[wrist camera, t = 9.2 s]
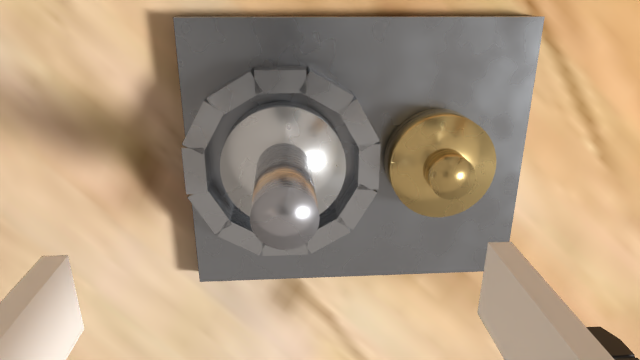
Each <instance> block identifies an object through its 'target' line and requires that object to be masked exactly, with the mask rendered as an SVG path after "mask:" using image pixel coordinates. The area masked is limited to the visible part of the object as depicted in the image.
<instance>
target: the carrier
mask: <svg viewBox="0 0 640 360" xmlns="http://www.w3.org/2000/svg"><path fill="white" fill-rule="evenodd" d="M173 20H174V30H175V40H176V50H177V60H178V70H179V80H180V90H181V100H182V109H183V119H184V129H185V139H184V141H183V143H182V145H183V146H182V148H181V150H182V160H183V169H184V179H185V188H186V194H189V195H188V199H189V200H190V202H191V203H192V209H193V218H194V228H195V238H196V248H197V258H198V268H199V278H200V282H204V281H232V280H259V279H286V278H313V277H341V276H368V275H395V274H423V273H450V272H477V271H484V266H485V260H486V253H487V246H488V243H489V242H509V240H510V233H511V227H512V221H513V214H514V208H515V202H516V195H517V189H518V182H519V176H520V170H521V163H522V157H523V151H524V144H525V138H526V131H527V125H528V119H529V112H530V106H531V100H532V93H533V87H534V81H535V74H536V68H537V61H538V55H539V49H540V42H541V36H542V30H543V23H544V17H541V16H178V17H173ZM278 101H288V102H295V103H299V104H303V105H306V106H308V107H310V108H312V109H314V110H315V111H317V112H319V113H320V114H321V115H322V116H324V117H325V118H326V119H327V120H328V121H329V123H330V124H331V125H332V126H333V128H334V129H335V131H336V133H337V135H338V137H339V139H340V142H341V144H342V147H343V150H344V153H345V159H346V173H345V179H344V183H343V185H342V188H341V190H340V192H339V194H338V196H337V198H336V199H335V200H334V202H333V203H332V204H331V205H330V206H329V207H328V208H327V209H326V210H325V211H324V212H322V213H321V214H320V215H319V217H320V220H319V226H318V229H317V231H316V233H315V235H314V236H313V237H312V238H311V239H310V240H309V241H308V242H307V243H306V244H304V245H302V246H300V247H298V248H295V249H290V250H279V249H274V248H271V247H269V246H267V245H265V244H263V243H262V242H261V241H260V240H259V239H258V238H257V237H256V236H255V234H254V233H253V230H252V228H251V224H250V216H248V215H246V214H245V213H244V212H242V211H241V210H240V209H239V208H238V207H237V206H236V205H235V204H234V203H233V202H232V200H231V199H230V198H229V196H228V194H227V193H226V190H225V188H224V186H223V183H222V179H221V173H220V160H221V154H222V150H223V147H224V144H225V141H226V139H227V136H228V134H229V132H230V130H231V129H232V127H233V126H234V125H235V123H236V122H237V121H238V120H239V119H240V118H241V117H242V116H243V115H244V114H246V113H247V112H249V111H250V110H252V109H254V108H256V107H258V106H260V105H263V104H266V103H271V102H278Z"/></svg>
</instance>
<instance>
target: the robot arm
mask: <svg viewBox="0 0 640 360" xmlns="http://www.w3.org/2000/svg"><path fill="white" fill-rule="evenodd" d="M478 315H479V317H480V319H481V320H482V322H483V324H484V325H485V327H486V329H487V331H488V332H489V334H490V336H491V337H492V339H493V341H494V343H495V344H496V346H497V348H498V349H499V351H500V353H501V355H502V356H503V358H504V360H639V359H638V358H635V356H634V354H633V353H632V352H631V351H630V349H629V348H628V347H627V346H626V345H625V344H624V343H623V342H622V341H621V340H620V339H618V338H617V337H615V336H614V335H612V334H611V333H609V332H608V331H606V330H605V329H603V328H601V327H585V325H584V324H583V323H582V322H581V321H580V320H579V319H578V317H577V316H576V315H575V314H574V313H573V312H572V311H571V309H570V308H569V307H568V306H567V305H566V304H565V303H564V301H563V300H562V299H561V298H560V297H559V296H558V295H557V293H556V292H555V291H554V290H553V289H552V288H551V287H550V285H549V284H548V283H547V282H546V281H545V280H544V279H543V277H542V276H541V275H540V274H539V273H538V272H537V271H536V270H535V268H534V267H533V266H532V265H531V264H530V263H529V262H528V260H527V259H526V258H525V257H524V256H523V255H522V254H521V252H520V251H519V250H518V249H517V248H516V247H515V246H514V244H513V243H512V242H489V243H488V246H487V253H486V260H485V266H484V273H483V279H482V286H481V293H480V299H479V306H478ZM83 330H84V325H83V321H82V316H81V312H80V307H79V303H78V298H77V294H76V289H75V284H74V280H73V275H72V271H71V266H70V262H69V257H68V255H60V256H42V257H41V258H40V259H39V260H38V261H37V262H36V263H35V264H34V266H33V267H32V268H31V269H30V270H29V271H28V272H27V273H26V274H25V276H24V277H23V278H22V279H21V280H20V281H19V282H18V283H17V284H16V286H15V287H14V288H13V289H12V290H11V291H10V292H9V293H8V294H7V296H6V297H5V298H4V299H3V300H2V301H1V302H0V360H66V359H67V357H68V355H69V354H70V352H71V350H72V349H73V347H74V345H75V344H76V342H77V340H78V338H79V337H80V335H81V333H82V332H83Z"/></svg>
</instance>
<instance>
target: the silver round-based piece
mask: <svg viewBox="0 0 640 360" xmlns="http://www.w3.org/2000/svg"><path fill="white" fill-rule="evenodd" d="M220 173H221V179H222V183H223V186H224V188H225V190H226V193H227V194H228V196H229V198H230V199H231V200H232V202H233V203H234V204H235V205H236V206H237V207H238V208H239V209H240V210H241V211H242V212H244V213H245V214H246V215H248V216H250V224H251V228H252V230H253V233H254V234H255V236H256V237H257V238H258V239H259V240H260V241H261V242H262V243H263V244H265V245H267V246H269V247H271V248H274V249H279V250H290V249H295V248H298V247H300V246H302V245H304V244H306V243H307V242H308V241H309V240H310V239H311V238H312V237H313V236H314V235H315V233H316V231H317V229H318V226H319V220H320V217H319V215H320V214H321V213H322V212H324V211H325V210H326V209H327V208H328V207H329V206H330V205H331V204H332V203H333V202H334V200H335V199H336V198H337V196H338V194H339V192H340V190H341V188H342V185H343V183H344V179H345V173H346V159H345V153H344V150H343V147H342V144H341V142H340V139H339V137H338V135H337V133H336V131H335V129H334V128H333V126H332V125H331V124H330V123H329V121H328V120H327V119H326V118H325V117H324V116H322V115H321V114H320V113H319V112H317V111H315V110H314V109H312V108H310V107H308V106H306V105H303V104H299V103H295V102H288V101H278V102H271V103H266V104H263V105H260V106H258V107H256V108H254V109H252V110H250V111H249V112H247V113H246V114H244V115H243V116H242V117H241V118H240V119H239V120H238V121H237V122H236V123H235V125H234V126H233V127H232V129H231V130H230V132H229V134H228V136H227V139H226V141H225V144H224V147H223V150H222V154H221V160H220Z"/></svg>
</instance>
